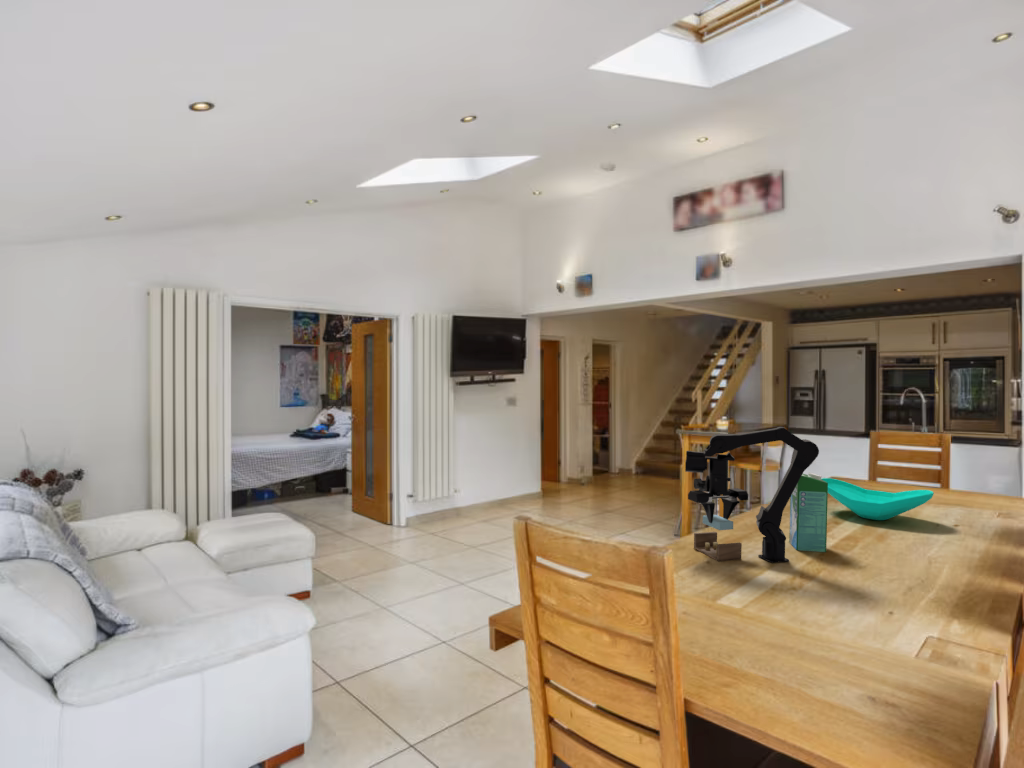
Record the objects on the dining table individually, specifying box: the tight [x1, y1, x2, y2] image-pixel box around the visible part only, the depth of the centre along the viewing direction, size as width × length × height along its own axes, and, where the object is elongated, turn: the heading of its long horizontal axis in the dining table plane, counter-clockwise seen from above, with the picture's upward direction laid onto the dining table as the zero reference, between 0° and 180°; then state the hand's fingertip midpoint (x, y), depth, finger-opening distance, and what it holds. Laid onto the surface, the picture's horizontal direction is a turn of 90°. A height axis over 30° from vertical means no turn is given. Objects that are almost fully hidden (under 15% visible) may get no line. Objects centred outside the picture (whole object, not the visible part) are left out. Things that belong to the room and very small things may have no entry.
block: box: [702, 514, 734, 531], centre depth 185 cm, size 9×5×2 cm, turn 15°
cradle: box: [693, 531, 742, 562], centre depth 186 cm, size 14×8×5 cm, turn 15°
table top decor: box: [821, 477, 935, 521], centre depth 234 cm, size 40×28×13 cm
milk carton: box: [788, 472, 829, 553], centre depth 193 cm, size 9×9×25 cm
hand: (717, 522), depth 185 cm, fingers closed on block, 5 cm apart
